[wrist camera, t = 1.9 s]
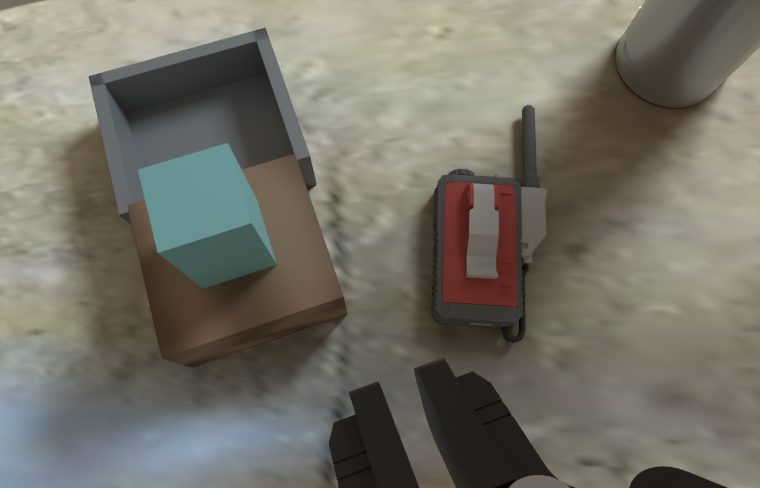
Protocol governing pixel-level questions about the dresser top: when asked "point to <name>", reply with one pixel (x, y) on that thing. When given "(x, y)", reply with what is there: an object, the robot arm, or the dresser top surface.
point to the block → (206, 216)
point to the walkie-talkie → (487, 242)
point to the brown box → (245, 278)
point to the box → (197, 111)
